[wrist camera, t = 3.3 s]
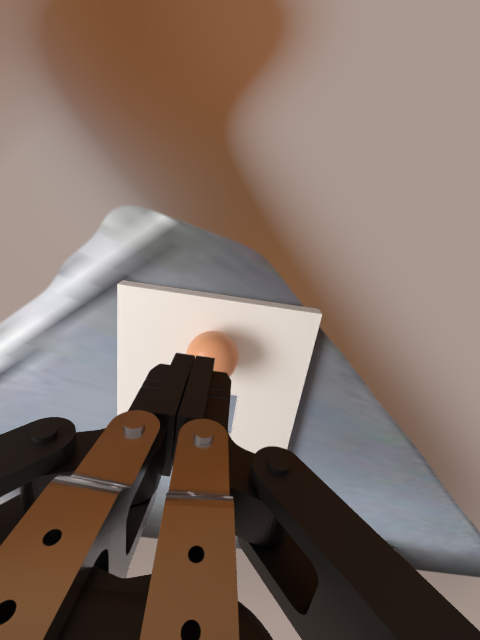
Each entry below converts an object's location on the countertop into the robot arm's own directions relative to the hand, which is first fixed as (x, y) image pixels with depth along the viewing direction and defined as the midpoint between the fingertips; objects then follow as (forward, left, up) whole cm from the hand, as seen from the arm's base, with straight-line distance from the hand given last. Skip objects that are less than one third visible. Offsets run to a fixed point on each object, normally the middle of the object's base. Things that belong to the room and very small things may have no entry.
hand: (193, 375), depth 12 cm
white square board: (0, +13, -20) cm, 24 cm away
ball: (0, +8, -16) cm, 18 cm away
